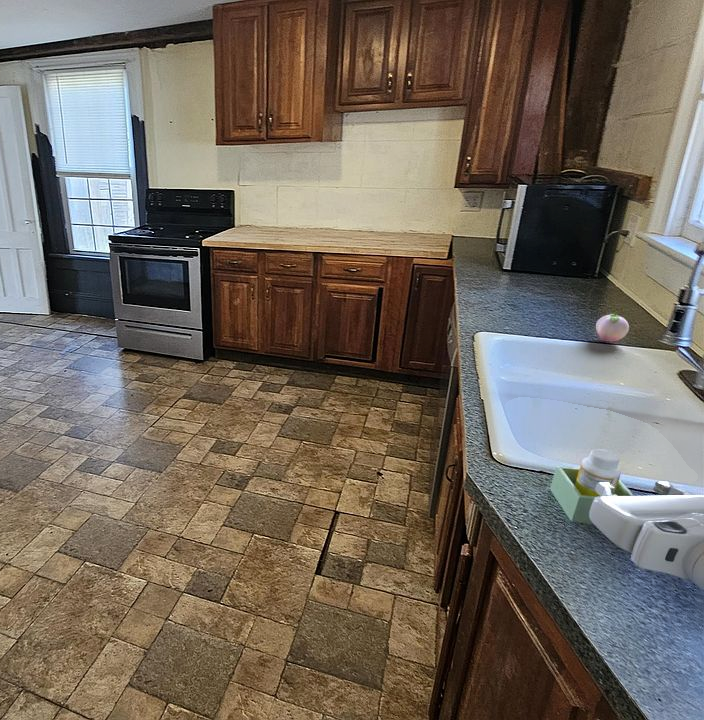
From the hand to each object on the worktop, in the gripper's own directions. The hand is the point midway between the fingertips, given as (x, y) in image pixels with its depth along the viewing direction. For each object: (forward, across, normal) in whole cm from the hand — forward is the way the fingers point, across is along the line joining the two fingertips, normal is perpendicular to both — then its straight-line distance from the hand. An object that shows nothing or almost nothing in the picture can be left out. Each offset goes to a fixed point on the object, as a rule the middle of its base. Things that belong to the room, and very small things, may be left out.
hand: (629, 485), depth 83 cm
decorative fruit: (+87, -62, +9) cm, 108 cm away
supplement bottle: (+6, 0, +9) cm, 10 cm away
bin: (+6, 0, +9) cm, 11 cm away
